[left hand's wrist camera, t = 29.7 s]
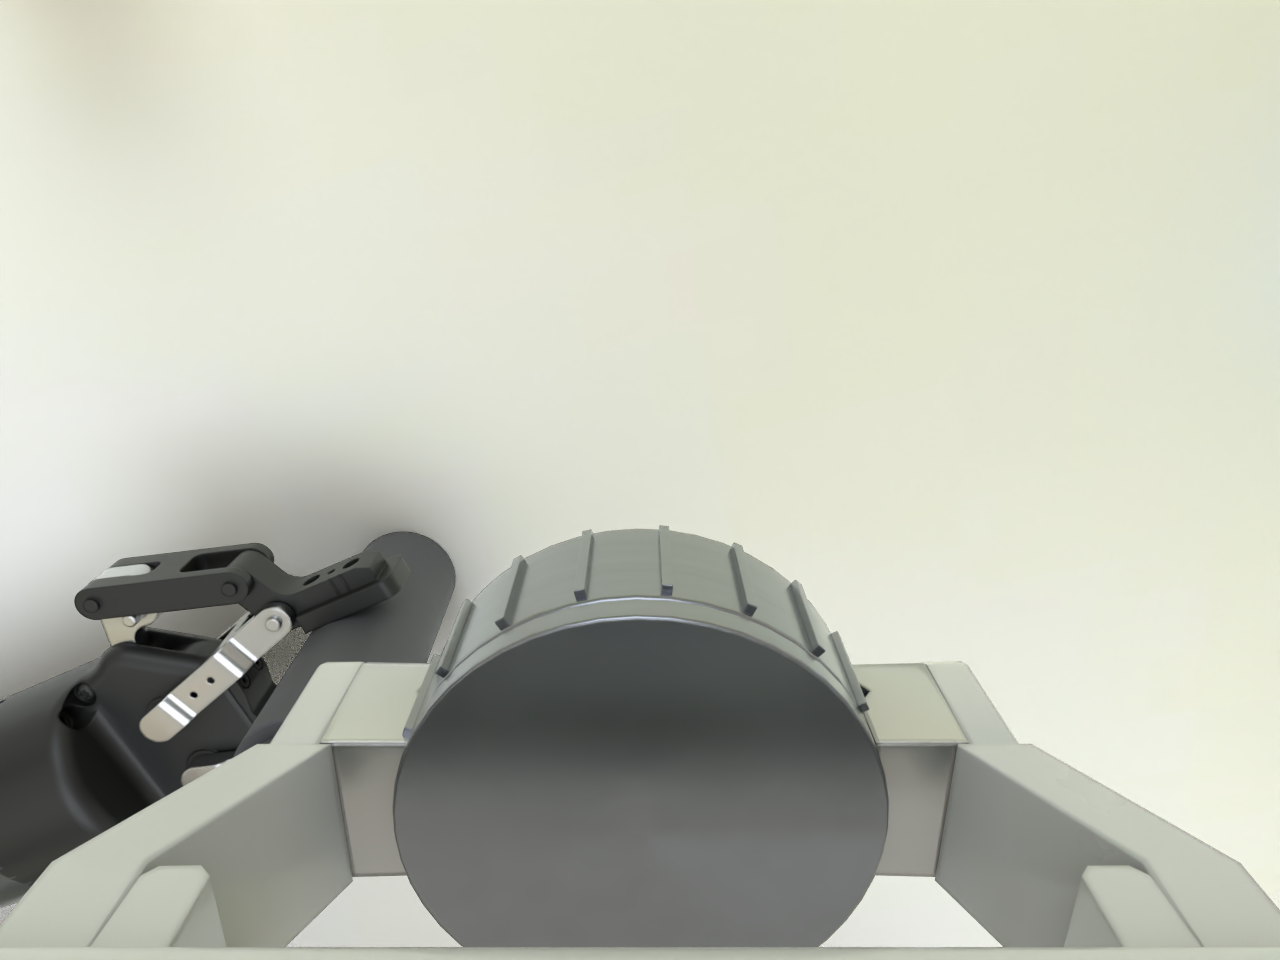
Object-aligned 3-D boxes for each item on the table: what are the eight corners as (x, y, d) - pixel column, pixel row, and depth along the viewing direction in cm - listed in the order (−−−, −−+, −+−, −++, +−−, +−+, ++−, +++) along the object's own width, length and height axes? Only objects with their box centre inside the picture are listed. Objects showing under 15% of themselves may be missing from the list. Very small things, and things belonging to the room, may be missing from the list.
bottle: (467, 606, 38) (383, 863, 24) (377, 627, 38) (241, 894, 24) (438, 521, 37) (329, 743, 23) (343, 543, 37) (178, 776, 23)
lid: (839, 490, 9) (887, 573, 8) (864, 850, 11) (907, 986, 9) (382, 553, 10) (323, 647, 8) (480, 894, 12) (451, 1034, 10)
